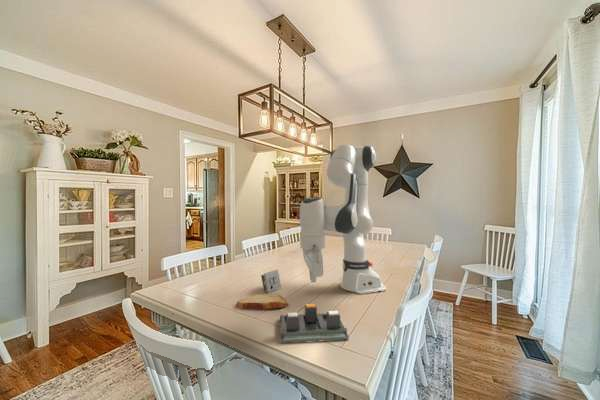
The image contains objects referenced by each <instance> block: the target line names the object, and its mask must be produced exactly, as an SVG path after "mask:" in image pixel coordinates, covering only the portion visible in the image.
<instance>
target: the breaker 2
mask: <svg viewBox="0 0 600 400" xmlns="http://www.w3.org/2000/svg"><path fill="white" fill-rule="evenodd" d="M326 313H327V329H336V328H340V320H341V314H340V313H339V311H338V310H329V311H327V312H326Z"/></svg>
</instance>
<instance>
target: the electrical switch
mask: <svg viewBox="0 0 600 400" xmlns="http://www.w3.org/2000/svg"><path fill="white" fill-rule="evenodd" d="M260 276H261V282H262V288H263V292H266V293H267V294H268V293H269V294H271V292H274V291H277V290H279V289H281V288H282V285H281V284H282V283H281V279H280V273H279V270H278V269H274V270H271V271H268V272H265V273H263V274H261V275H260Z"/></svg>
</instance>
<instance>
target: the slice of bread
mask: <svg viewBox="0 0 600 400" xmlns="http://www.w3.org/2000/svg"><path fill="white" fill-rule="evenodd" d="M288 305H289V304H288V302H287V300H286V299H285V298H284V297H283V296H281V294H278V293H277V294H272V293H269V294H268V293H267V294H258V295H251V296H247V297H244V298H241V299H239V300H237V302H236V304H235V308H236V309H241V310H252V311H253V310H257V311H259V310H260V311H261V310H263V311H265V310H277V309H283V308H286V307H288Z"/></svg>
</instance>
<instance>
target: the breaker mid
mask: <svg viewBox="0 0 600 400" xmlns="http://www.w3.org/2000/svg"><path fill="white" fill-rule="evenodd" d="M317 309H318V307H317V306H316V304H315V303H305V304H304V314H305V322H317V314H318V311H317Z"/></svg>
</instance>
